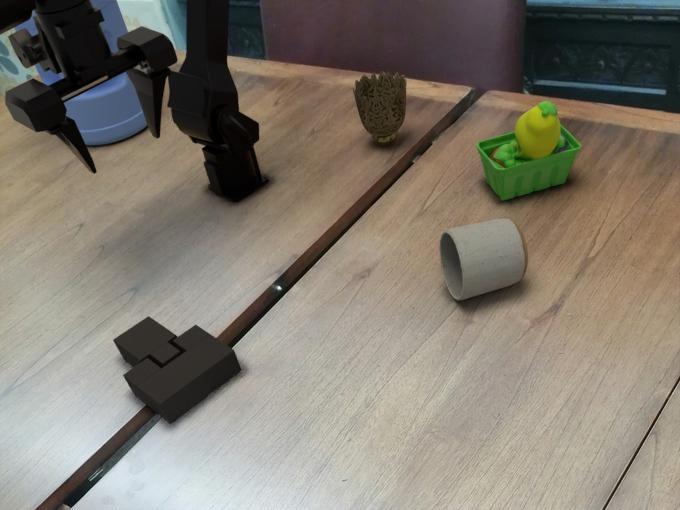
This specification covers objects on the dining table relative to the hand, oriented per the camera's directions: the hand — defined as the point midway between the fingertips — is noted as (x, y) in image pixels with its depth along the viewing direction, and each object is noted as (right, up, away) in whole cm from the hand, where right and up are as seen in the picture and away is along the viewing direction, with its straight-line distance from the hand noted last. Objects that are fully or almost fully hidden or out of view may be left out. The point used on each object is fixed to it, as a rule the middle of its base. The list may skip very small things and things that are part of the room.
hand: (125, 154), depth 83 cm
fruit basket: (+50, 0, +8) cm, 50 cm away
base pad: (+9, -28, -6) cm, 31 cm away
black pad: (+5, -26, -4) cm, 27 cm away
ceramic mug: (+42, -16, -2) cm, 45 cm away
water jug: (-14, +21, +32) cm, 41 cm away
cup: (+31, +11, +18) cm, 38 cm away
